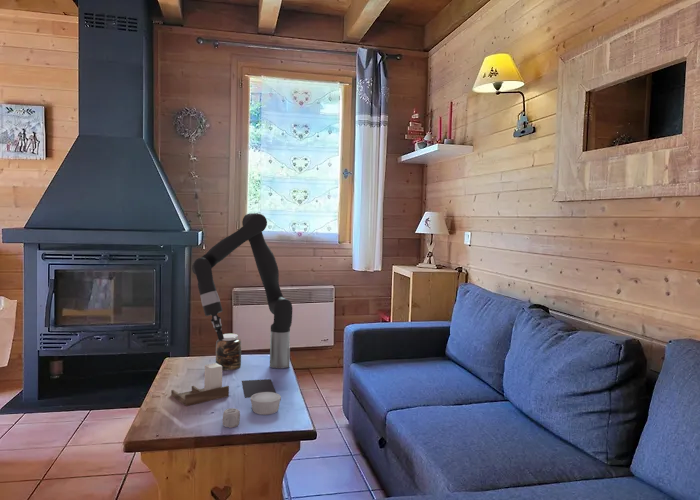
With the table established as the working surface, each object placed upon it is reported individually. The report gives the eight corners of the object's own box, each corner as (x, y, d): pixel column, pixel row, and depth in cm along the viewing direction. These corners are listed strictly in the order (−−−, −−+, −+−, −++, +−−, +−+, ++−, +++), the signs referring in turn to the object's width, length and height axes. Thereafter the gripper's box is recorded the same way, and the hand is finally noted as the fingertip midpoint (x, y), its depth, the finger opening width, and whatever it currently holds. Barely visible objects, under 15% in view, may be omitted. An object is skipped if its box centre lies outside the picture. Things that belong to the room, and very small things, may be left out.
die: (222, 427, 175) (222, 413, 175) (225, 421, 180) (225, 407, 180) (236, 428, 175) (237, 413, 175) (239, 422, 180) (240, 408, 180)
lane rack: (171, 397, 201) (171, 385, 201) (212, 388, 212) (212, 377, 212) (186, 408, 191) (186, 395, 190) (228, 398, 202) (228, 386, 202)
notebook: (241, 384, 221) (244, 401, 201) (241, 380, 221) (244, 397, 201) (270, 382, 224) (277, 399, 204) (271, 378, 224) (277, 395, 204)
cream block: (204, 395, 202) (204, 365, 202) (216, 392, 206) (216, 363, 205) (209, 398, 199) (210, 368, 198) (221, 396, 202) (222, 366, 201)
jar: (215, 363, 248) (216, 333, 247) (240, 362, 250) (241, 332, 249) (215, 371, 236) (215, 338, 235) (241, 369, 239) (241, 338, 238)
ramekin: (251, 405, 197) (252, 391, 196) (281, 404, 198) (281, 391, 197) (248, 416, 185) (248, 402, 185) (279, 416, 186) (280, 402, 186)
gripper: (219, 299, 215) (230, 337, 214) (220, 301, 228) (229, 336, 227) (201, 304, 213) (212, 342, 211) (203, 306, 226) (213, 342, 225)
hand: (221, 339), depth 219 cm, fingers open, 8 cm apart
